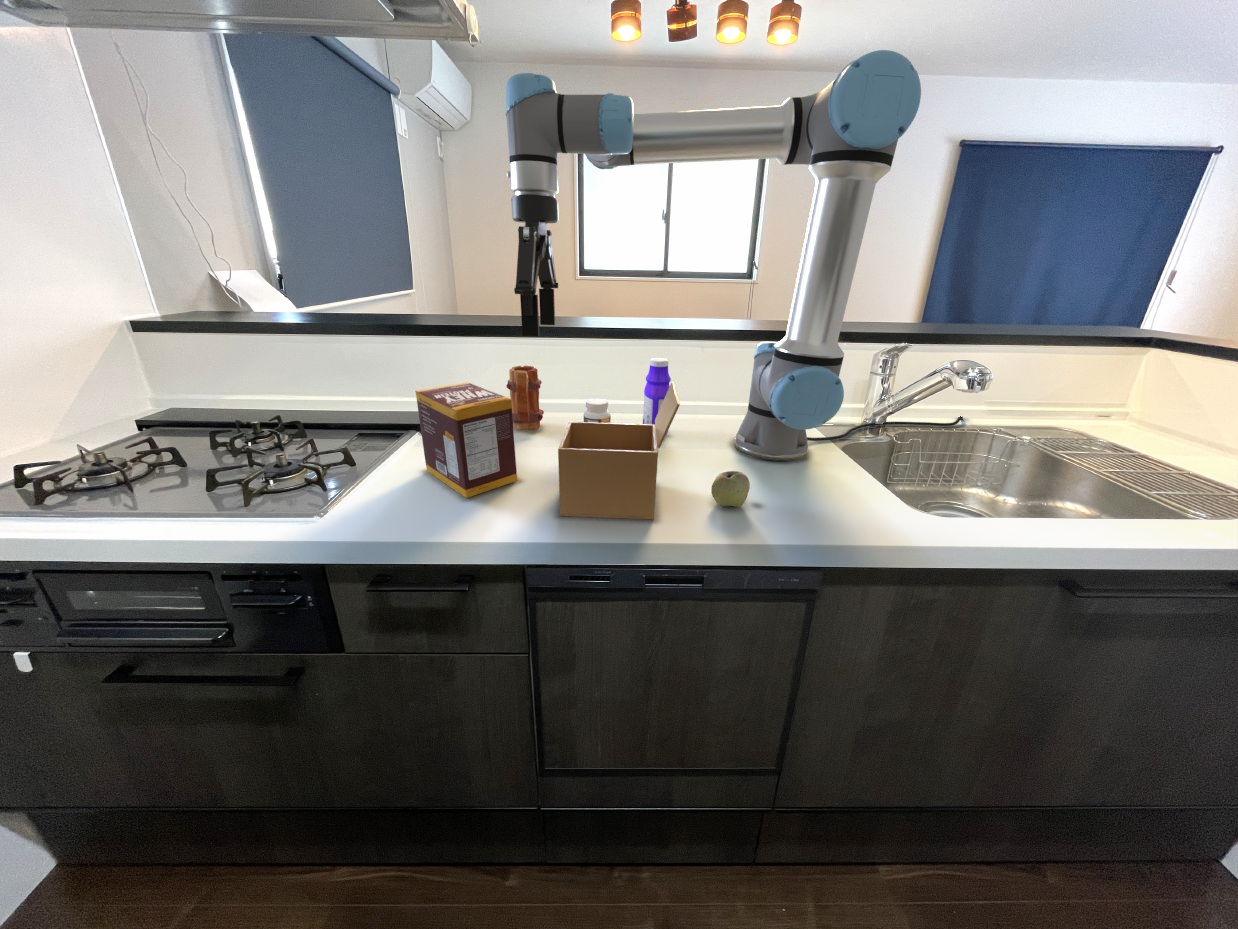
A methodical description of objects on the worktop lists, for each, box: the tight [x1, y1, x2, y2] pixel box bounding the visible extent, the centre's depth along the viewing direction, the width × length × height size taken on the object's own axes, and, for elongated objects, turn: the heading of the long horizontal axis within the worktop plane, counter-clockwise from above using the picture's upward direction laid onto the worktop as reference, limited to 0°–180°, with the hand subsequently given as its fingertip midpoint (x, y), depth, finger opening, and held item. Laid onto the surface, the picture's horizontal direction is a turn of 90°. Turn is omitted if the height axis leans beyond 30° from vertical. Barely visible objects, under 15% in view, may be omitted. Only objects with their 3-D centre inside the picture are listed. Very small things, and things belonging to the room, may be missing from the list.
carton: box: [557, 421, 659, 520], centre depth 82 cm, size 15×13×12 cm
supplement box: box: [414, 381, 518, 499], centre depth 88 cm, size 10×15×16 cm
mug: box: [505, 364, 545, 431], centre depth 111 cm, size 15×8×15 cm, turn 6°
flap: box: [655, 381, 681, 450], centre depth 78 cm, size 7×13×1 cm
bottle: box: [642, 357, 672, 436], centre depth 112 cm, size 7×6×17 cm
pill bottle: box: [583, 398, 612, 423], centre depth 105 cm, size 6×6×10 cm
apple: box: [710, 470, 751, 508], centre depth 82 cm, size 6×8×6 cm
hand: (539, 330), depth 88 cm, fingers open, 13 cm apart
